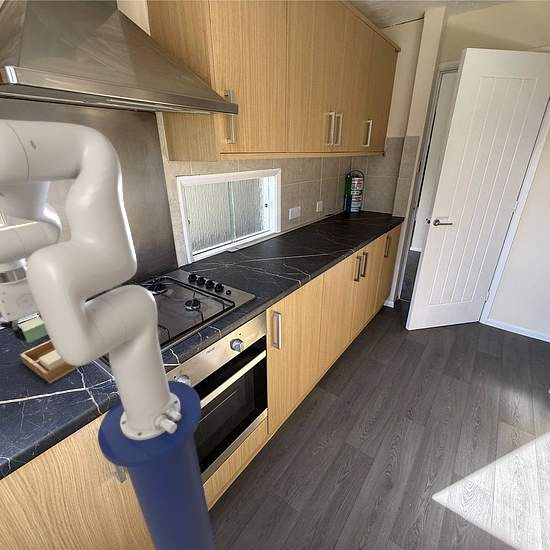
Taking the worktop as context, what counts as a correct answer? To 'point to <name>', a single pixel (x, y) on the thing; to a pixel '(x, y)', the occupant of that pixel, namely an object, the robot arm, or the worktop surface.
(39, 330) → the pad
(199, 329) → the worktop surface
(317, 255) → the worktop surface
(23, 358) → the holder
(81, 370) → the worktop surface
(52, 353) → the pad
